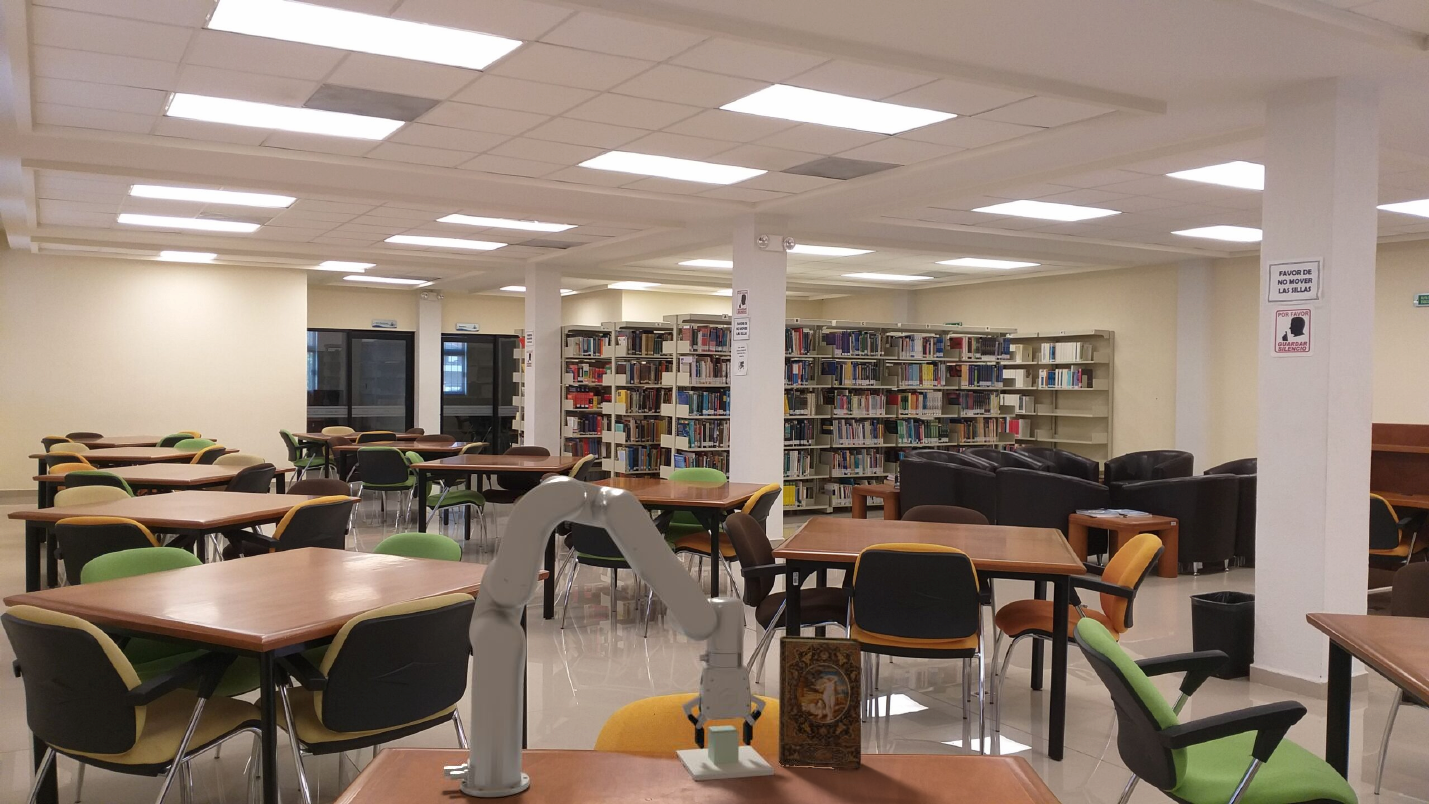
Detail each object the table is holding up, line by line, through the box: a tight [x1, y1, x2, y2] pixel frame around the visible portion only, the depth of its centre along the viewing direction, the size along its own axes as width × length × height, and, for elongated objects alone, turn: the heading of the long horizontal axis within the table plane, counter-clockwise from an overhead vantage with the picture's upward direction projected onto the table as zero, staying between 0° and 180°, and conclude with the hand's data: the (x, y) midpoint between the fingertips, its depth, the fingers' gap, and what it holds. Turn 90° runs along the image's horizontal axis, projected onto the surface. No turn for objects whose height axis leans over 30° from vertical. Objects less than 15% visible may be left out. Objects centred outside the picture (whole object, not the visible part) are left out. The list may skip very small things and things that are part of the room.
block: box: [707, 725, 740, 764], centre depth 195 cm, size 5×5×6 cm
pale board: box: [675, 745, 775, 781], centre depth 195 cm, size 16×16×1 cm
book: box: [778, 635, 862, 771], centre depth 196 cm, size 16×6×25 cm, turn 84°
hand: (723, 745), depth 195 cm, fingers open, 9 cm apart
